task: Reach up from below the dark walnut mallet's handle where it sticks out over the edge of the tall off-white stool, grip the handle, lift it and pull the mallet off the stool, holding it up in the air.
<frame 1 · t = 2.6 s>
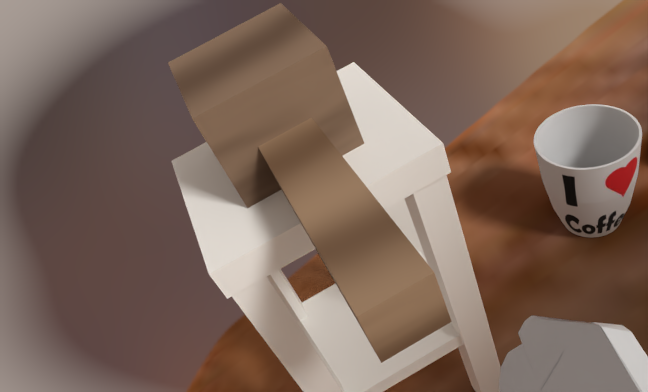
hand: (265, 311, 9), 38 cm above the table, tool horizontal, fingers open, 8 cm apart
cup: (591, 218, 55), on the table
stool: (406, 381, 49), on the table
mallet: (323, 201, 29), point 26 cm above the table, touching stool
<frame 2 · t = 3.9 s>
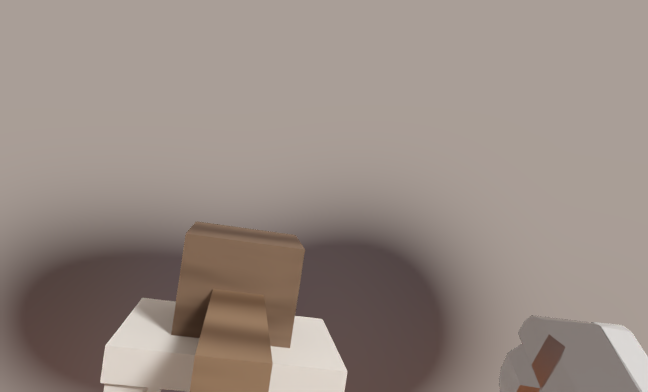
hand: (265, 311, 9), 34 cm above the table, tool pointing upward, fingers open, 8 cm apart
mallet: (230, 355, 32), point 26 cm above the table, touching stool
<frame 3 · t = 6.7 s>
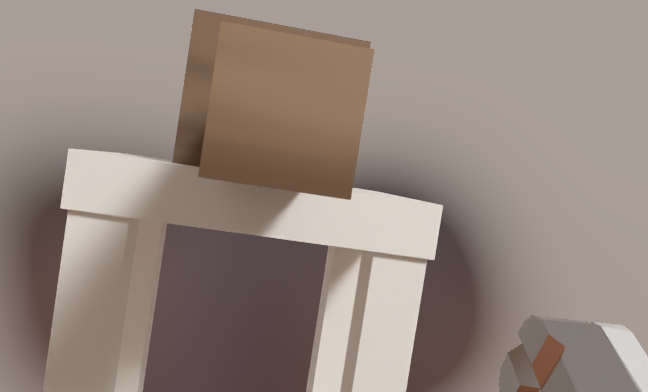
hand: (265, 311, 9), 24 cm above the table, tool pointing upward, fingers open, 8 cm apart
mallet: (263, 177, 21), point 26 cm above the table, touching stool
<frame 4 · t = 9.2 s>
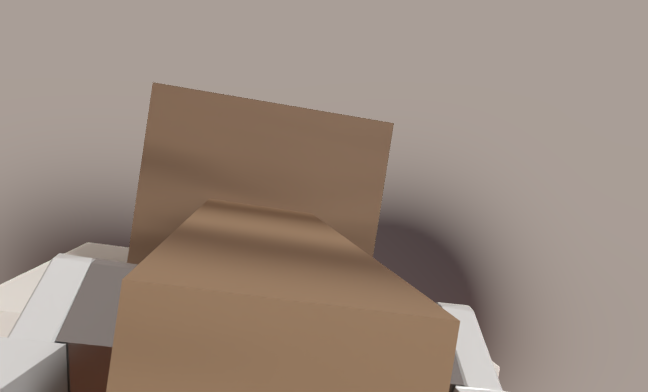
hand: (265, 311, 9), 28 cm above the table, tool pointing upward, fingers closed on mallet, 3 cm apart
mallet: (246, 332, 15), point 26 cm above the table, touching gripper, stool
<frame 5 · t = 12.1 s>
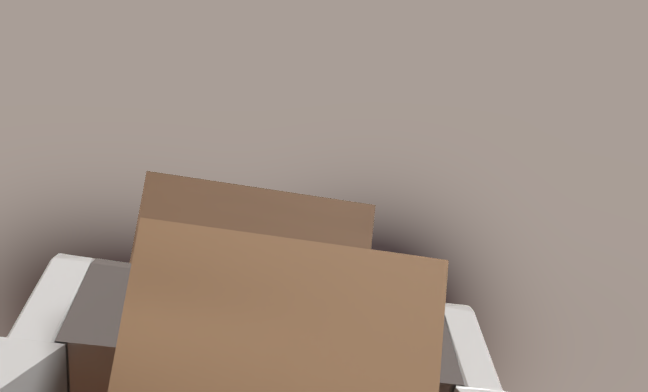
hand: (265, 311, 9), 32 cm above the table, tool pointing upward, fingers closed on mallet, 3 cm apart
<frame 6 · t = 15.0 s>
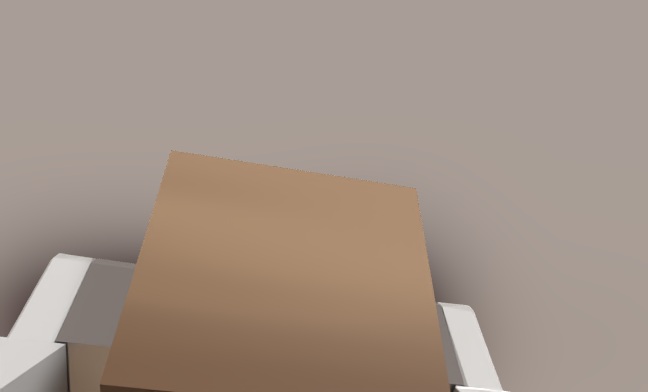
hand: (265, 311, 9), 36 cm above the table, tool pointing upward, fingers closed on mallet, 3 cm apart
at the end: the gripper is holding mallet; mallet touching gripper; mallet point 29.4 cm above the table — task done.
